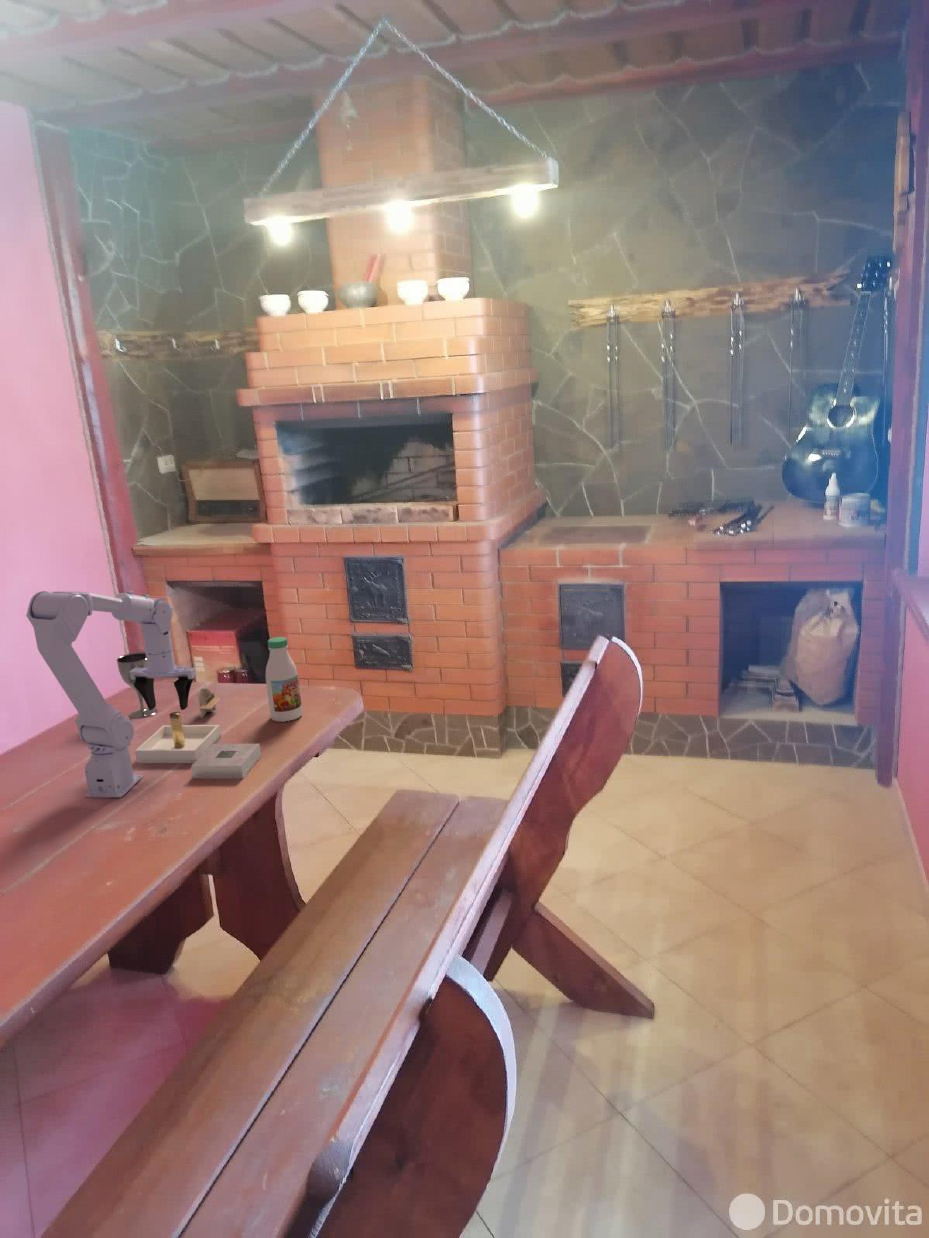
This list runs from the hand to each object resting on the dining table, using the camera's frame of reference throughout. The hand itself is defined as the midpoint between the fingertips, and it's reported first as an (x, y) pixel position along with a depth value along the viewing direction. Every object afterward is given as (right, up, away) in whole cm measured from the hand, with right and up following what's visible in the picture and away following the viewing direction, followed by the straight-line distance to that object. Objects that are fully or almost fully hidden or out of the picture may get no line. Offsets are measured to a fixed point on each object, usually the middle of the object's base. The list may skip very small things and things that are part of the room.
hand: (168, 708), depth 202 cm
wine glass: (-15, -4, +27) cm, 31 cm away
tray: (+2, -10, +3) cm, 10 cm away
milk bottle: (+23, -4, +19) cm, 30 cm away
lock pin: (+2, -9, +3) cm, 10 cm away
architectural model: (+2, -4, +24) cm, 25 cm away
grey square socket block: (+15, -12, -7) cm, 21 cm away
